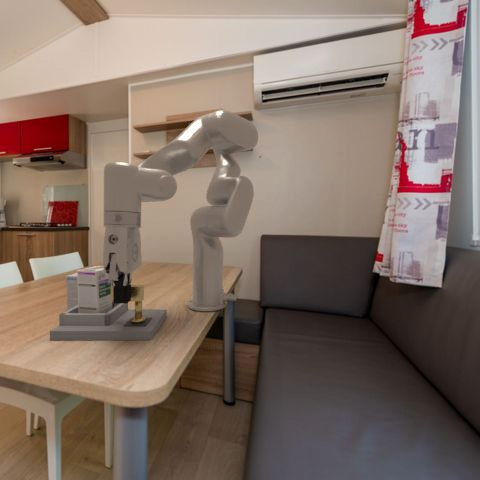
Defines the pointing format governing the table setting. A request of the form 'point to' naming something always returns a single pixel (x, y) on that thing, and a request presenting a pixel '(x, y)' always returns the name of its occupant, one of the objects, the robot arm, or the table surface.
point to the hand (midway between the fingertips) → (122, 302)
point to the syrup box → (94, 290)
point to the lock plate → (107, 324)
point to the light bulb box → (72, 291)
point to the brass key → (136, 302)
